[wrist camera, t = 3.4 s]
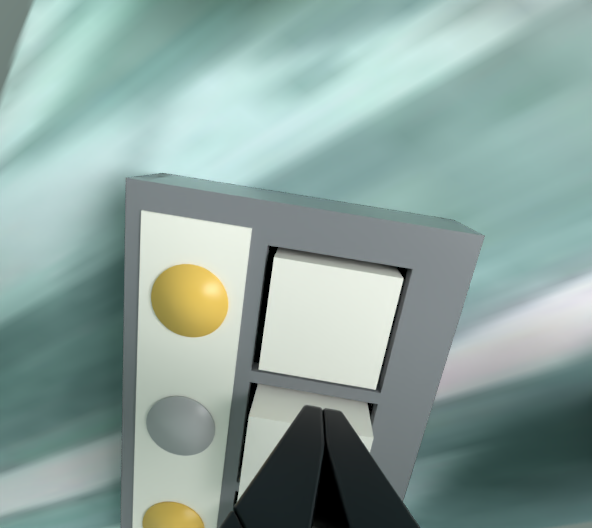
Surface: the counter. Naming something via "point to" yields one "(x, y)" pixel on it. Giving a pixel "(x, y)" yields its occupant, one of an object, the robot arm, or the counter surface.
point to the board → (244, 329)
